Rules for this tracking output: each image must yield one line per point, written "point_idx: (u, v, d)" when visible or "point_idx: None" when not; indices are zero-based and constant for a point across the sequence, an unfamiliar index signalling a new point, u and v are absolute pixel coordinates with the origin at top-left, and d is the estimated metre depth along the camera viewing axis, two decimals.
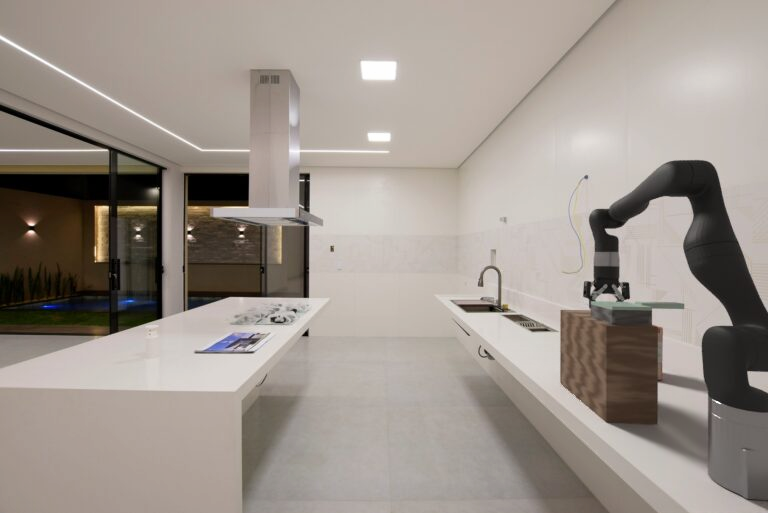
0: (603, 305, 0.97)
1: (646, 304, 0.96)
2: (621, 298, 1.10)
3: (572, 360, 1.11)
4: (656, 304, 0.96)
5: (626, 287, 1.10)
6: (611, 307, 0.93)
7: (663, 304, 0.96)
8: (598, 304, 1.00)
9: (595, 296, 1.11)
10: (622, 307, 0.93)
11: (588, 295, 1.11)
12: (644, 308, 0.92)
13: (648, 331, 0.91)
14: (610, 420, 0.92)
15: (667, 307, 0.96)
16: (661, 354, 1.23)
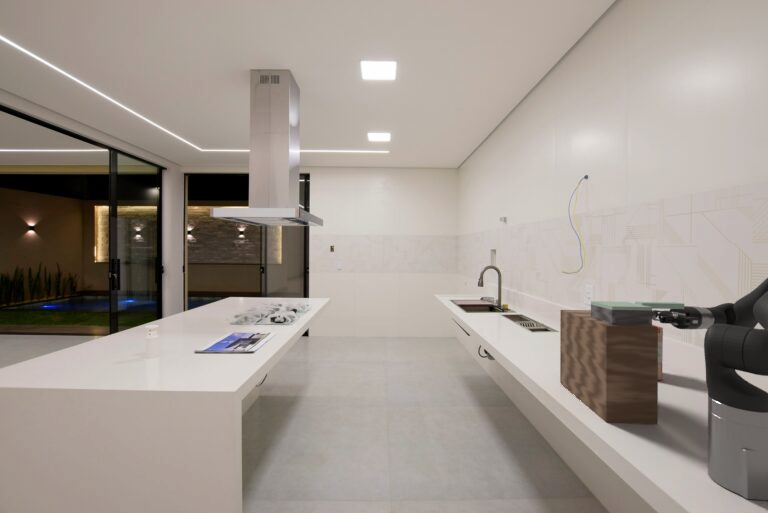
0: (603, 305, 0.97)
1: (646, 304, 0.96)
2: (674, 316, 0.99)
3: (572, 360, 1.11)
4: (656, 304, 0.96)
5: (690, 317, 0.98)
6: (611, 307, 0.93)
7: (663, 304, 0.96)
8: (598, 304, 1.00)
9: None
10: (622, 307, 0.93)
11: None
12: (644, 308, 0.92)
13: (648, 331, 0.91)
14: (610, 420, 0.92)
15: (667, 307, 0.96)
16: (661, 354, 1.23)
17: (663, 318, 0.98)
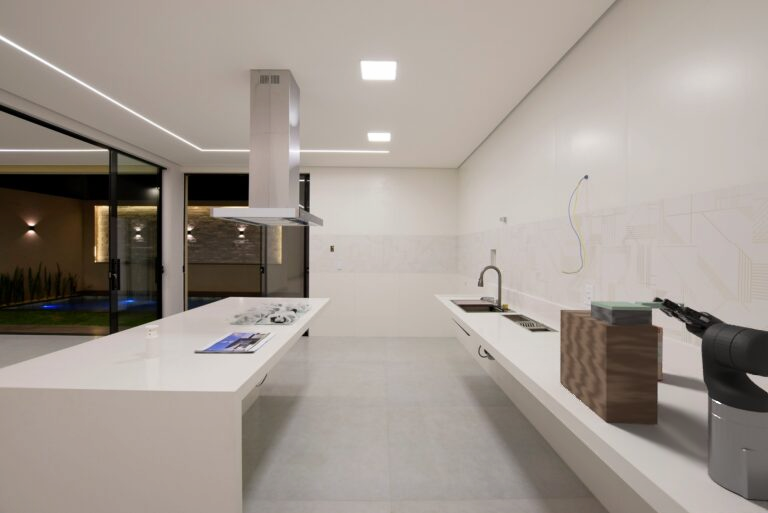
0: (603, 305, 0.97)
1: (646, 304, 0.96)
2: None
3: (572, 360, 1.11)
4: (656, 304, 0.96)
5: None
6: (611, 307, 0.93)
7: None
8: (598, 304, 1.00)
9: None
10: (622, 307, 0.93)
11: None
12: (644, 308, 0.92)
13: (648, 331, 0.91)
14: (610, 420, 0.92)
15: None
16: (661, 354, 1.23)
17: (666, 300, 0.95)
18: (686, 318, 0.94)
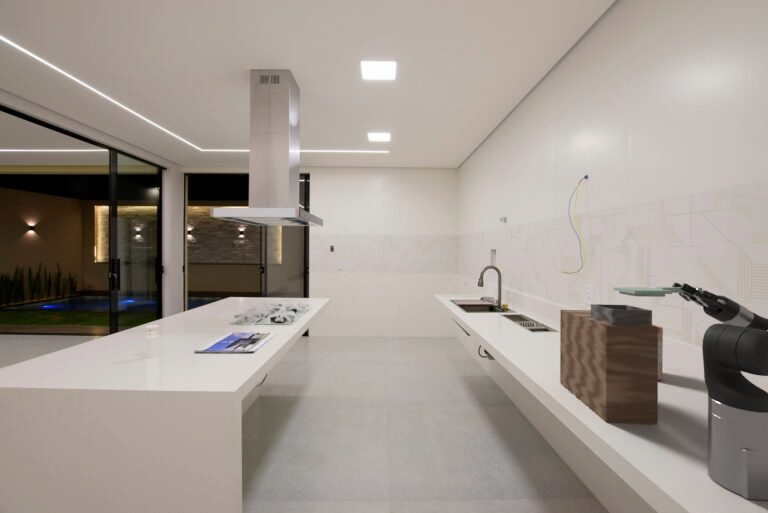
0: (626, 290, 1.05)
1: (666, 289, 1.04)
2: None
3: (572, 360, 1.11)
4: (675, 288, 1.04)
5: None
6: (634, 291, 1.02)
7: None
8: (621, 289, 1.08)
9: None
10: (644, 291, 1.01)
11: None
12: (665, 292, 1.00)
13: (648, 331, 0.91)
14: (610, 420, 0.92)
15: None
16: (661, 354, 1.23)
17: (685, 285, 1.03)
18: (704, 301, 1.02)
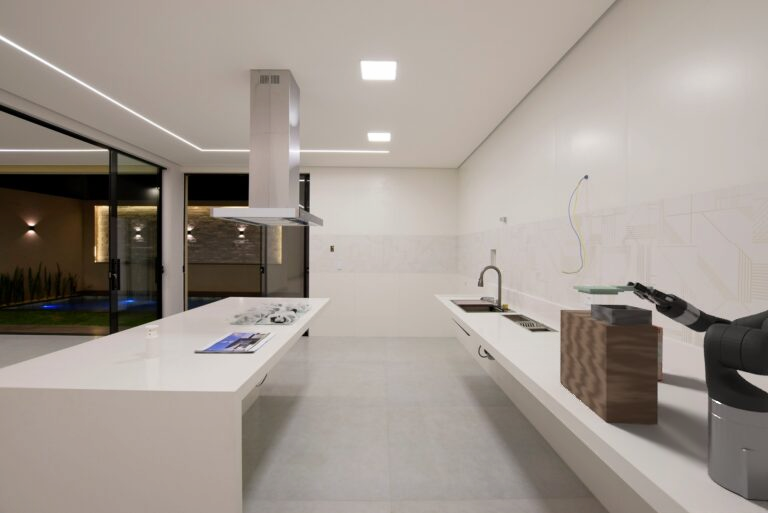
0: (583, 288, 1.11)
1: (620, 287, 1.10)
2: None
3: (572, 360, 1.11)
4: (629, 287, 1.10)
5: None
6: (589, 289, 1.07)
7: None
8: (579, 288, 1.14)
9: None
10: (598, 289, 1.07)
11: None
12: (617, 290, 1.06)
13: (648, 331, 0.91)
14: (610, 420, 0.92)
15: (638, 290, 1.09)
16: (661, 354, 1.23)
17: (637, 284, 1.09)
18: (654, 299, 1.08)
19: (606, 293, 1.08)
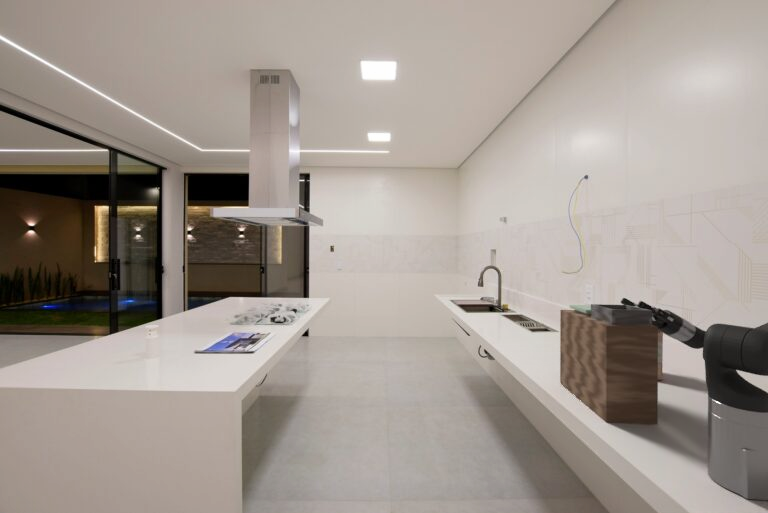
0: (579, 309, 1.11)
1: None
2: None
3: (572, 360, 1.11)
4: None
5: None
6: (585, 311, 1.07)
7: None
8: (575, 308, 1.14)
9: (637, 304, 1.15)
10: None
11: None
12: None
13: (648, 331, 0.91)
14: (610, 420, 0.92)
15: None
16: (661, 354, 1.23)
17: (641, 303, 1.06)
18: (654, 317, 1.07)
19: None
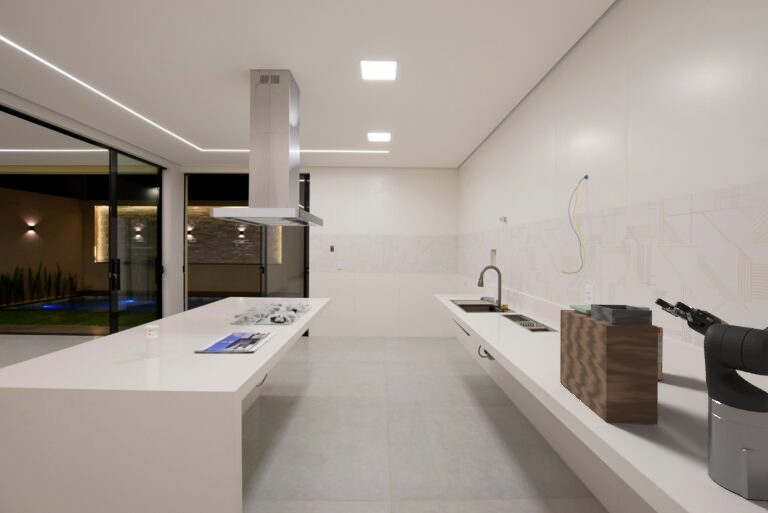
0: (579, 309, 1.11)
1: None
2: None
3: (572, 360, 1.11)
4: None
5: None
6: (585, 311, 1.07)
7: None
8: (575, 308, 1.14)
9: None
10: None
11: None
12: None
13: (648, 331, 0.91)
14: (610, 420, 0.92)
15: None
16: (661, 354, 1.23)
17: (679, 303, 1.05)
18: (692, 317, 1.06)
19: None
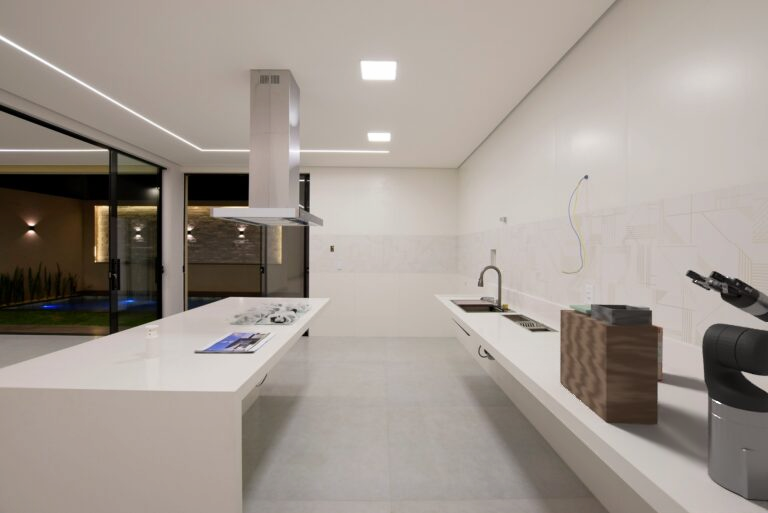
0: (579, 309, 1.11)
1: None
2: None
3: (572, 360, 1.11)
4: None
5: None
6: (585, 311, 1.07)
7: None
8: (575, 308, 1.14)
9: None
10: None
11: None
12: None
13: (648, 331, 0.91)
14: (610, 420, 0.92)
15: None
16: (661, 354, 1.23)
17: (714, 273, 0.98)
18: (728, 288, 0.99)
19: None
